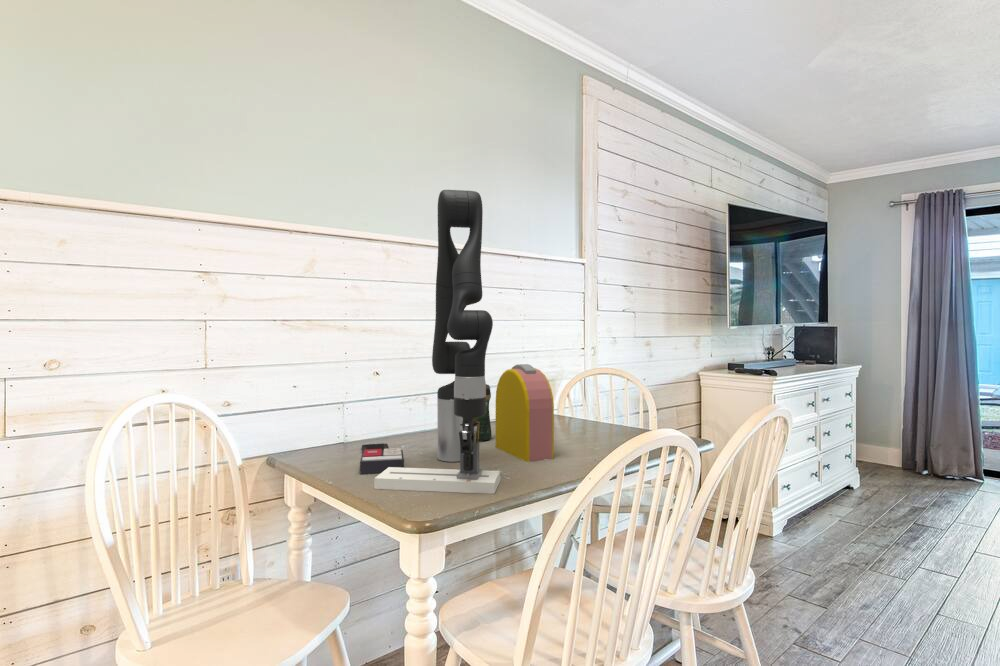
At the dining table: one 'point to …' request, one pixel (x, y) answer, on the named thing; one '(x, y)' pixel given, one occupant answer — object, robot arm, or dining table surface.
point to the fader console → (435, 480)
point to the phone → (374, 446)
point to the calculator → (380, 460)
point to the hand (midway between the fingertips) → (469, 467)
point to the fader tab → (476, 471)
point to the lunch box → (525, 414)
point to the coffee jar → (485, 420)
